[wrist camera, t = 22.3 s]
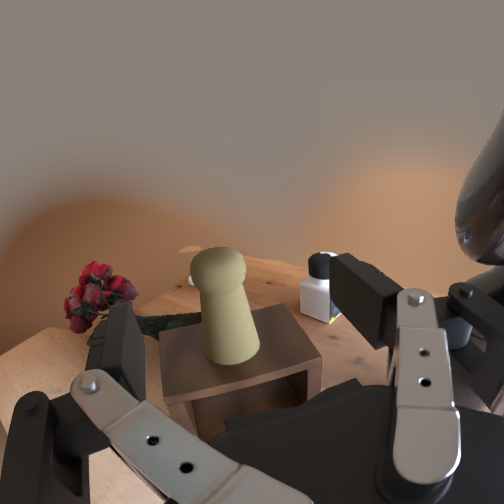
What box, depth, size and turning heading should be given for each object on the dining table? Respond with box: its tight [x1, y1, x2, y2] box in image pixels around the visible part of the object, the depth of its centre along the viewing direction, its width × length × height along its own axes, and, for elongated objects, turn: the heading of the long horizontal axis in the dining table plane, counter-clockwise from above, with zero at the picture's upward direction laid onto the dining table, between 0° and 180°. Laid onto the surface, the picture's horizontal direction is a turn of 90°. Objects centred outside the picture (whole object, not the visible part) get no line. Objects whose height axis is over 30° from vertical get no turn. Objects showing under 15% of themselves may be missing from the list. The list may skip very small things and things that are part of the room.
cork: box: [190, 247, 260, 365], centre depth 31 cm, size 6×6×11 cm
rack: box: [159, 303, 322, 443], centre depth 37 cm, size 16×11×15 cm
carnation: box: [64, 261, 202, 346], centre depth 59 cm, size 16×18×35 cm
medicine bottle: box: [299, 252, 341, 324], centre depth 60 cm, size 7×7×12 cm
